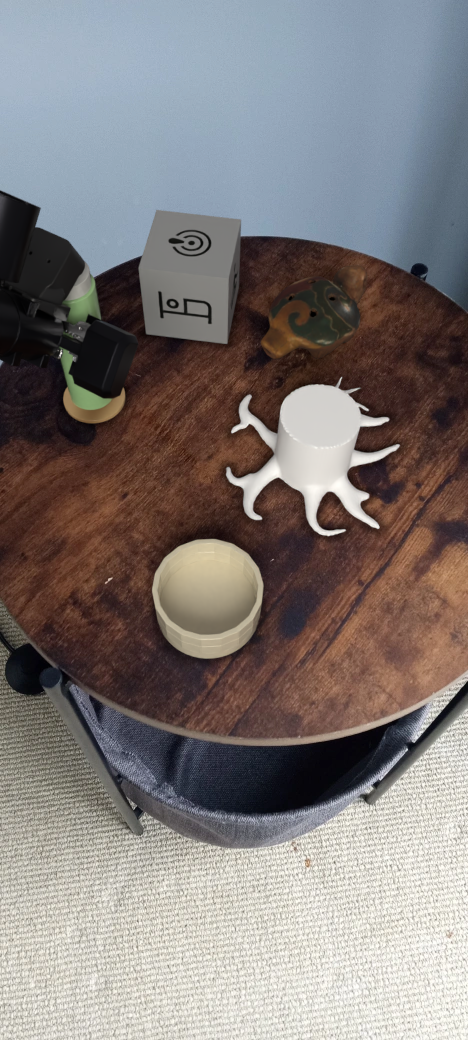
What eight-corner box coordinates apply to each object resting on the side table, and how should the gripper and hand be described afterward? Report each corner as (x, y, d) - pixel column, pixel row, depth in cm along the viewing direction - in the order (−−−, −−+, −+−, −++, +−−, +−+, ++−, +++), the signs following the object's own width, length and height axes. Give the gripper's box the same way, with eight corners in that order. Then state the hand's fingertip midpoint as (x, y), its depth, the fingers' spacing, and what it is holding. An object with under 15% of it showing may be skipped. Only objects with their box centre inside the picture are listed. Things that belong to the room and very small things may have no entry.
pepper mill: (98, 416, 80) (72, 297, 65) (61, 399, 81) (27, 278, 66) (123, 386, 82) (103, 264, 67) (86, 370, 83) (58, 247, 68)
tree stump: (423, 429, 81) (443, 381, 74) (361, 567, 72) (377, 527, 65) (263, 367, 85) (267, 316, 78) (185, 490, 76) (182, 445, 69)
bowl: (167, 669, 66) (164, 651, 62) (148, 573, 71) (143, 550, 67) (271, 646, 68) (275, 626, 63) (245, 553, 73) (247, 529, 68)
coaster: (68, 428, 80) (67, 425, 80) (60, 381, 84) (59, 378, 83) (130, 417, 81) (129, 414, 81) (120, 371, 85) (119, 368, 84)
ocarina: (382, 327, 89) (396, 279, 82) (298, 397, 84) (304, 354, 77) (324, 283, 92) (332, 234, 85) (240, 350, 87) (241, 304, 80)
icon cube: (146, 334, 88) (138, 267, 79) (162, 277, 93) (156, 209, 84) (227, 344, 87) (228, 278, 78) (238, 286, 92) (241, 219, 83)
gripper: (113, 269, 56) (192, 295, 71) (-67, 188, 61) (42, 228, 75) (69, 401, 60) (153, 400, 74) (-100, 315, 64) (11, 330, 79)
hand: (89, 336), depth 75 cm, fingers closed on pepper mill, 5 cm apart
